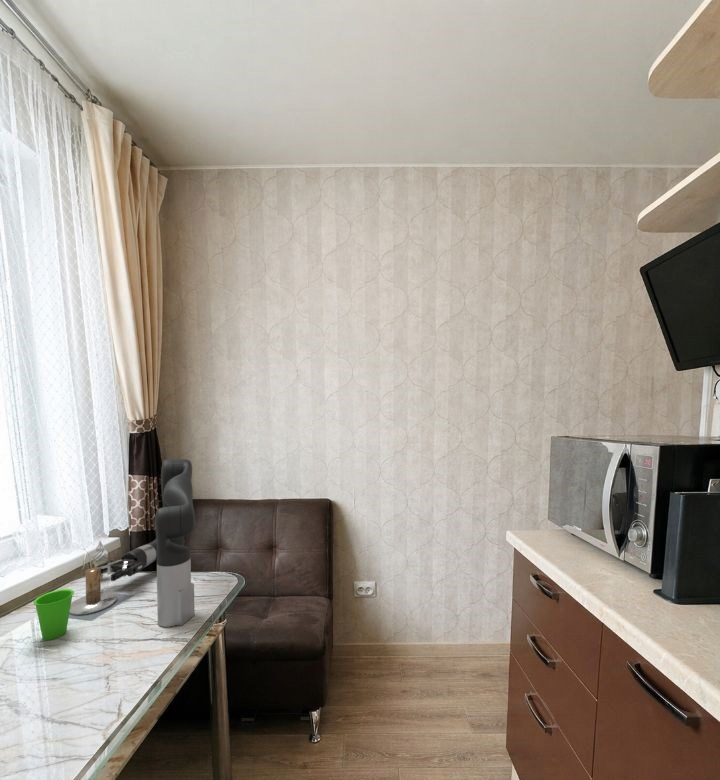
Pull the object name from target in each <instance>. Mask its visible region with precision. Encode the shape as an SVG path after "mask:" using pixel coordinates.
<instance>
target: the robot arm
mask: <svg viewBox="0 0 720 780" xmlns="http://www.w3.org/2000/svg"><path fill="white" fill-rule="evenodd" d="M161 465H162V466H161V471H160V473H161V474H160V478H161V479H160V482H161V483H160V484H161V498H162V500H161V501H162V507H160V508H158V509H157V511H156V513H155V515H154V516H155V518H154V519H155V520H154V529H155V537H156V538H155V539H154V540H153V541H151V542H149V543H146V544H143V545H141V546H139V547H137V548H134V549H132V550H131V551H130V550H129V551H128V552H126V553H124V554H123V555H122V557H121V558H120V559H119V560H116V561H114V560H113V559H110V560H107V562H105V563H103V564H100V565H98V566H97V567H100V572H101V575H102V574H103V575H106V574H107V575H110V581H111V582H114V581H116V580H118V579H121V578H125V577H126V576H127V577H132V576H134V575H136V574H137V573H139V572H141V571H142V570H143V569H144V568H146V567H147V566H149V565H151V564H152V563H154V562H155V561H156V598H157V599H156V601H157V602H156V603H157V604H156V606H157V608H156V609H157V624H158V626H159V627H162V626H163V627H164V628H172V627H176V626H175V625H177V626H183V625H184V624H185V623H186V622H188V621H189V620H190V619H192V618H193V617H194V616H195V611H196V610H195V583H193V582H192V571H191V570H192V569H191V568H192V564H191V558H192V557H191V555H192V554H191V549H190V547H189V546H186V545H185V537H187V536H190V535H191V534H192V533H193V531H194V529H195V527H196V526H195V525H196V514H195V508H194V503H193V500H194V499H193V495H194V492H193V491H194V490H193V482H192V476H193V465H192V462H191V460H189V459H186V458H173V459H171V458H168V459H165V460H163V462H162V464H161ZM171 626H172V627H171ZM163 627H162V628H163Z"/></svg>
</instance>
